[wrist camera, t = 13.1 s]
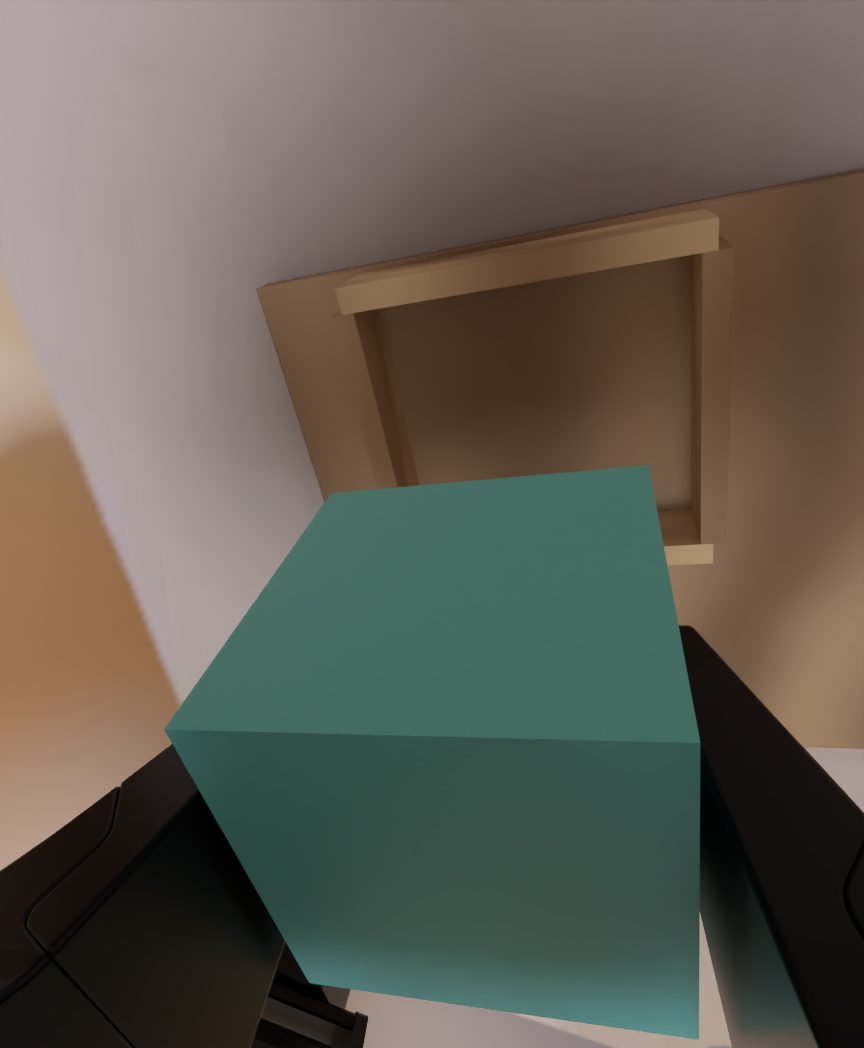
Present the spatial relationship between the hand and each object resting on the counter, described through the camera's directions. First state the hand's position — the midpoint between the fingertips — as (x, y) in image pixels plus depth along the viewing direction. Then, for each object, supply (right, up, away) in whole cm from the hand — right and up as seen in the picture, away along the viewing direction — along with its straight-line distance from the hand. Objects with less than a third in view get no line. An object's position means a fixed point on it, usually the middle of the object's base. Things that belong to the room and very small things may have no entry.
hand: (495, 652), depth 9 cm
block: (0, +1, +1) cm, 1 cm away
